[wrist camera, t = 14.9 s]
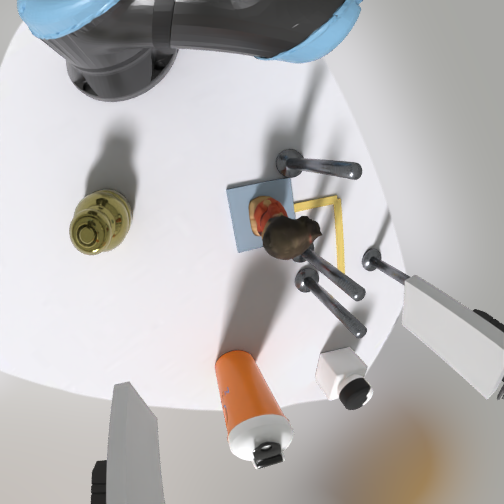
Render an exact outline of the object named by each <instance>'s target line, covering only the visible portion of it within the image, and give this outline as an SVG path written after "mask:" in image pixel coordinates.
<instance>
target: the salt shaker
mask: <svg viewBox="0 0 504 504" xmlns="http://www.w3.org/2000/svg"><path fill="white" fill-rule="evenodd" d="M131 223H132V210H131V207H130V204H129V202H128V201H127V199H126V198H125V197H124V196H123V195H122V194H121V193H119V192H117V191H115V190H111V189H102V190H99V191H96V192H93V193H91V194H89V195H87V196H86V197H84V198H83V199H82V200H81V201H80V202H79V204H78V205H77V207H76V209H75V212H74V216H73V219H72V221H71V224H70V228H69V234H70V239H71V242H72V244H73V245H74V247H75V248H76V249H77V250H78V251H80V252H81V253H83V254H86V255H96V254H99V253H101V252H107V251H110V250H113V249H115V248H116V247H118V246H119V245H120V244H121V243H122V241H123V240H124V238H125V237H126V235H127V233H128V231H129V229H130V226H131Z"/></svg>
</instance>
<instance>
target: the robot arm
mask: <svg viewBox="0 0 504 504" xmlns="http://www.w3.org/2000/svg"><path fill="white" fill-rule="evenodd" d="M362 1H363V0H17V9H18V12H19V15H20V16H21V18H22V20H23V21H24V22H25V23H26V24H27V25H28V26H29V29H30V31H31V32H32V34H33V35H34V36H35V37H37V38H40V39H41V40H42V41H44V42H45V43H46V44H47V45H49V46H50V47H51V48H52V49H53V50H55V51H56V52H57V53H58V54H60V55H61V56H62V57H63V58H65V59H66V66H67V71H68V74H69V77H70V79H71V81H72V82H73V84H74V85H75V86H76V87H77V88H78V89H79V90H80V91H81V92H83V93H84V94H86V95H87V96H89V97H91V98H93V99H96V100H99V101H105V102H117V101H124V100H128V99H131V98H134V97H137V96H139V95H141V94H143V93H145V92H147V91H148V90H150V89H151V88H153V87H154V86H155V85H156V84H158V83H159V82H160V81H161V80H162V79H163V78H164V77H165V75H166V74H167V73H168V72H169V70H170V68H171V67H172V65H173V63H174V61H175V58H176V55H177V51H178V49H196V50H209V51H219V52H228V53H236V54H243V55H250V56H254V57H255V58H257V59H260V60H280V61H285V62H291V63H305V62H311V61H315V60H317V59H319V58H322V57H323V56H325V55H327V54H328V53H329V52H331V51H332V50H333V49H334V48H336V47H337V46H338V45H339V44H340V43H341V42H342V41H343V40H344V38H345V37H346V36H347V35H348V33H349V32H350V31H351V29H352V27H353V26H354V24H355V22H356V21H357V19H358V17H359V14H360V11H361V8H360V6H359V3H361V2H362ZM402 325H403V326H404V327H406V328H407V329H408V330H409V331H410V332H411V333H413V334H414V335H415V336H416V337H417V338H419V339H420V340H421V341H422V342H423V343H424V344H425V345H427V346H428V347H429V348H430V349H432V351H434V352H435V353H436V354H437V355H438V356H439V357H441V358H442V359H443V360H444V361H445V362H446V363H447V364H448V365H450V366H451V367H452V368H453V369H454V370H455V371H456V372H457V373H459V374H460V375H461V376H462V377H463V378H464V379H465V380H466V381H467V382H468V383H470V384H471V385H472V386H473V387H474V388H475V389H476V390H477V391H478V392H479V393H480V394H482V395H483V396H484V397H485V398H486V399H488V398H489V397H490V396H491V395H492V394H493V393H494V392H495V391H496V390H497V388H498V386H499V384H500V382H501V381H503V382H504V325H503V324H502V323H499V321H497V320H496V319H493V317H491V316H490V315H488V314H487V313H485V312H483V311H480V310H477V309H474V310H473V311H472V310H470V309H469V308H467V307H466V306H464V305H462V304H461V303H459V302H458V301H456V300H455V299H453V298H452V297H450V296H449V295H447V294H446V293H444V292H443V291H441V290H439V289H438V288H436V287H435V286H433V285H431V284H430V283H428V282H426V281H425V280H423V279H421V278H420V277H418V276H417V275H414V276H412V277H410V278H408V279H406V280H405V286H404V303H403V316H402ZM503 392H504V385H503V387H502V388H501V390H500V392H499V394H498V397H497V399H498V400H499V399H500V397H501V396H502V394H503ZM502 399H504V395H503V397H502ZM91 493H92V495H91V504H165V500H164V493H163V485H162V476H161V466H160V454H159V440H158V425H157V417H156V416H155V415H154V414H153V412H152V411H151V410H150V409H149V407H148V406H147V405H146V403H145V402H144V401H143V399H142V398H141V397H140V396H139V394H138V393H137V391H136V390H135V389H134V387H133V386H132V385H131V383H130V382H125V383H121V384H116V385H114V390H113V398H112V406H111V416H110V425H109V437H108V453H107V460H104V461H97V462H96V464H95V467H94V469H93V471H92V486H91Z"/></svg>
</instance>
